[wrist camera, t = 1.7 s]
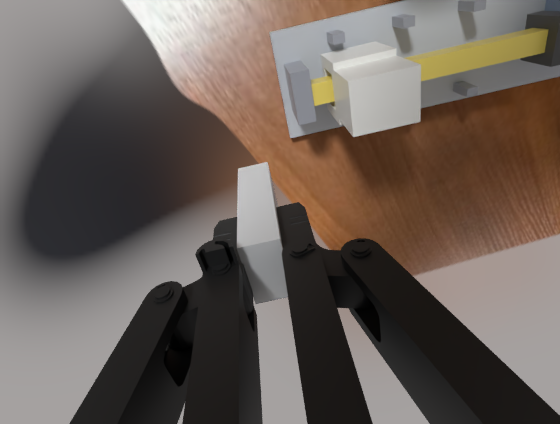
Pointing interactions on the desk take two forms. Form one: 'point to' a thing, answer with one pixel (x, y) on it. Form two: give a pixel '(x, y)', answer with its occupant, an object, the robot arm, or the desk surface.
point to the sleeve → (373, 88)
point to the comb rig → (422, 51)
